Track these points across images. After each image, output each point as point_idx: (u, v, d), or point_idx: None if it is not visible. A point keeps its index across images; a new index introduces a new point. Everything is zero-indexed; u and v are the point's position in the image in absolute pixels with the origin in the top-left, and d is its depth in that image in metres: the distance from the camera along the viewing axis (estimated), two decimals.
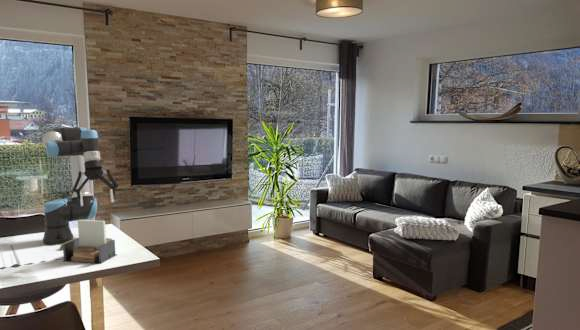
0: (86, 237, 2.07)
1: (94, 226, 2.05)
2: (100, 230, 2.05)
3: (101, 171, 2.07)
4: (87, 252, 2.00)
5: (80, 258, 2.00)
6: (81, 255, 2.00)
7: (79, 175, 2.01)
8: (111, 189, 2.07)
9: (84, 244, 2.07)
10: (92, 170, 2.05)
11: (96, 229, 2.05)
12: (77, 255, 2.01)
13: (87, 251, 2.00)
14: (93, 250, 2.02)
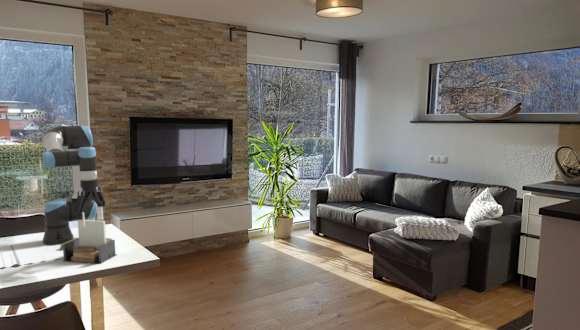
0: (86, 237, 2.07)
1: (94, 226, 2.05)
2: (100, 230, 2.05)
3: (95, 189, 2.07)
4: (87, 252, 2.00)
5: (80, 258, 2.00)
6: (81, 255, 2.00)
7: (82, 195, 1.97)
8: (101, 207, 2.11)
9: (84, 244, 2.07)
10: (90, 189, 2.03)
11: (96, 229, 2.05)
12: (77, 255, 2.01)
13: (87, 251, 2.00)
14: (93, 250, 2.02)
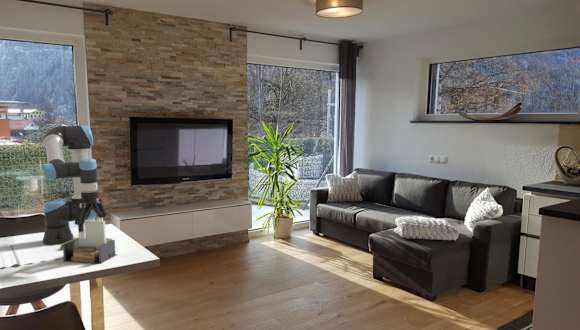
0: (86, 237, 2.07)
1: (94, 226, 2.05)
2: (100, 230, 2.05)
3: (96, 201, 2.08)
4: (87, 252, 2.00)
5: (80, 258, 2.00)
6: (81, 255, 2.00)
7: (83, 208, 1.98)
8: (102, 218, 2.12)
9: (84, 244, 2.07)
10: (91, 201, 2.04)
11: (96, 229, 2.05)
12: (77, 255, 2.01)
13: (87, 251, 2.00)
14: (93, 250, 2.02)
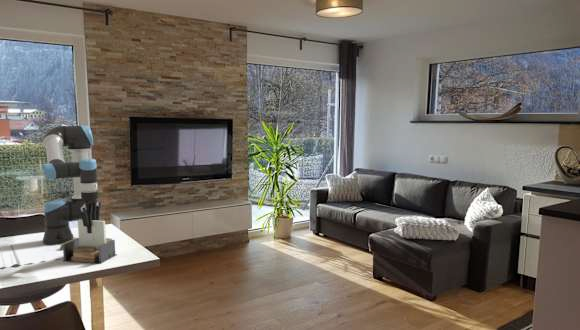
0: (86, 237, 2.07)
1: (94, 226, 2.05)
2: (100, 230, 2.05)
3: (96, 201, 2.08)
4: (87, 252, 2.00)
5: (80, 258, 2.00)
6: (81, 255, 2.00)
7: (85, 211, 2.00)
8: None
9: (84, 244, 2.07)
10: (91, 201, 2.04)
11: (96, 229, 2.05)
12: (77, 255, 2.01)
13: (87, 251, 2.00)
14: (93, 250, 2.02)
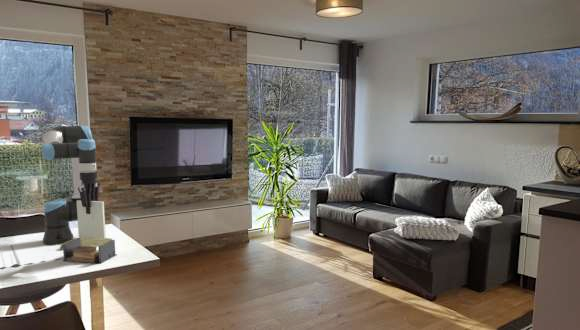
0: (85, 217, 2.06)
1: (93, 207, 2.04)
2: (99, 211, 2.04)
3: (95, 182, 2.07)
4: (87, 252, 2.00)
5: (80, 258, 2.00)
6: (81, 255, 2.00)
7: (84, 191, 1.99)
8: None
9: (83, 225, 2.06)
10: (89, 181, 2.03)
11: (95, 210, 2.04)
12: (77, 255, 2.01)
13: (87, 251, 2.00)
14: (93, 250, 2.02)
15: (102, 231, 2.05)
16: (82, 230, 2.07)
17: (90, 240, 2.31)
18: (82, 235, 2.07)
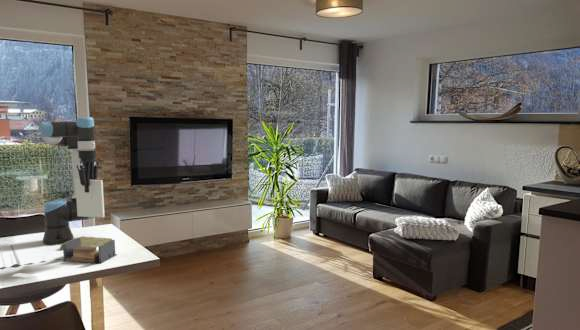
0: (83, 196, 2.04)
1: (92, 185, 2.03)
2: (98, 189, 2.02)
3: (94, 161, 2.06)
4: (87, 252, 2.00)
5: (80, 258, 2.00)
6: (81, 255, 2.00)
7: (82, 169, 1.97)
8: None
9: (82, 204, 2.05)
10: (88, 160, 2.01)
11: (93, 188, 2.03)
12: (77, 255, 2.01)
13: (87, 251, 2.00)
14: (93, 250, 2.02)
15: (101, 210, 2.03)
16: (81, 210, 2.06)
17: (90, 240, 2.31)
18: (81, 214, 2.06)
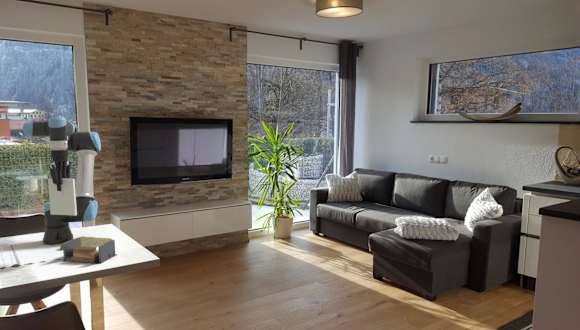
0: (56, 195, 2.09)
1: (64, 184, 2.07)
2: (70, 188, 2.07)
3: (66, 160, 2.10)
4: (87, 252, 2.00)
5: (80, 258, 2.00)
6: (81, 255, 2.00)
7: (54, 168, 2.02)
8: None
9: (54, 202, 2.09)
10: (60, 159, 2.06)
11: (66, 187, 2.07)
12: (77, 255, 2.01)
13: (87, 251, 2.00)
14: (93, 250, 2.02)
15: (73, 208, 2.07)
16: (54, 208, 2.10)
17: (90, 240, 2.31)
18: (54, 212, 2.10)
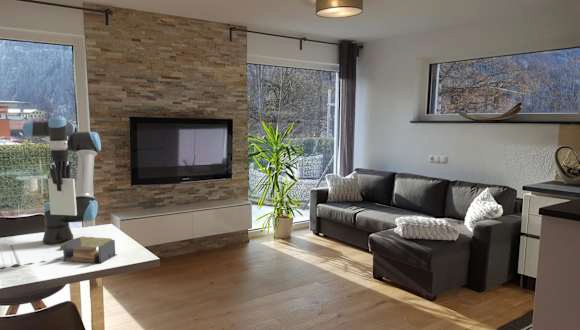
0: (56, 195, 2.09)
1: (64, 184, 2.07)
2: (70, 188, 2.07)
3: (66, 160, 2.10)
4: (87, 252, 2.00)
5: (80, 258, 2.00)
6: (81, 255, 2.00)
7: (54, 168, 2.02)
8: None
9: (54, 202, 2.09)
10: (60, 159, 2.06)
11: (66, 187, 2.07)
12: (77, 255, 2.01)
13: (87, 251, 2.00)
14: (93, 250, 2.02)
15: (73, 208, 2.07)
16: (54, 208, 2.10)
17: (90, 240, 2.31)
18: (54, 212, 2.10)
